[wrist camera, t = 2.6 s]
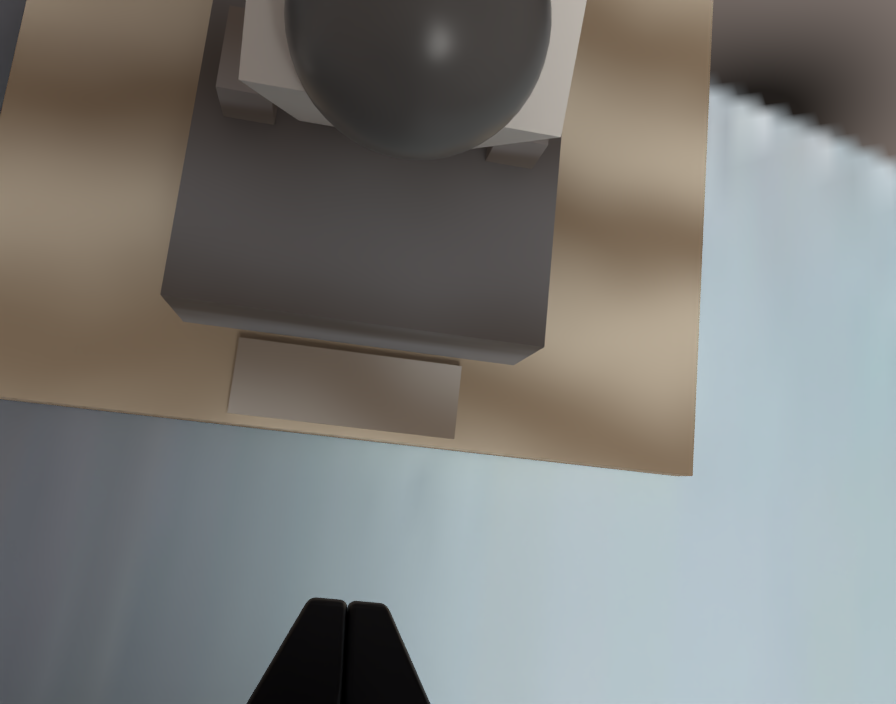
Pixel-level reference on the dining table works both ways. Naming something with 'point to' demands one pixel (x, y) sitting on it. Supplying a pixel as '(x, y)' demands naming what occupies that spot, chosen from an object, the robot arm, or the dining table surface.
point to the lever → (416, 69)
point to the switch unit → (354, 245)
